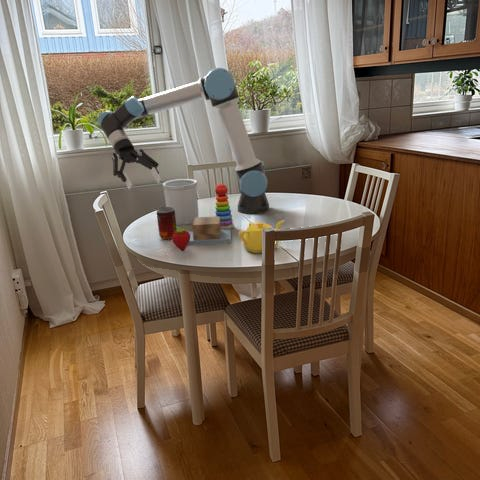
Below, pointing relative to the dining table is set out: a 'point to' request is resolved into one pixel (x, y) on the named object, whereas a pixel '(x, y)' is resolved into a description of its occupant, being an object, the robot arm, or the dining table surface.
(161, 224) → the jam jar
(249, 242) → the teapot
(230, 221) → the stacking toy
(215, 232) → the block
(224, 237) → the base board
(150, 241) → the dining table surface
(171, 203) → the utensil holder
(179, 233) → the strawberry
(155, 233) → the dining table surface
